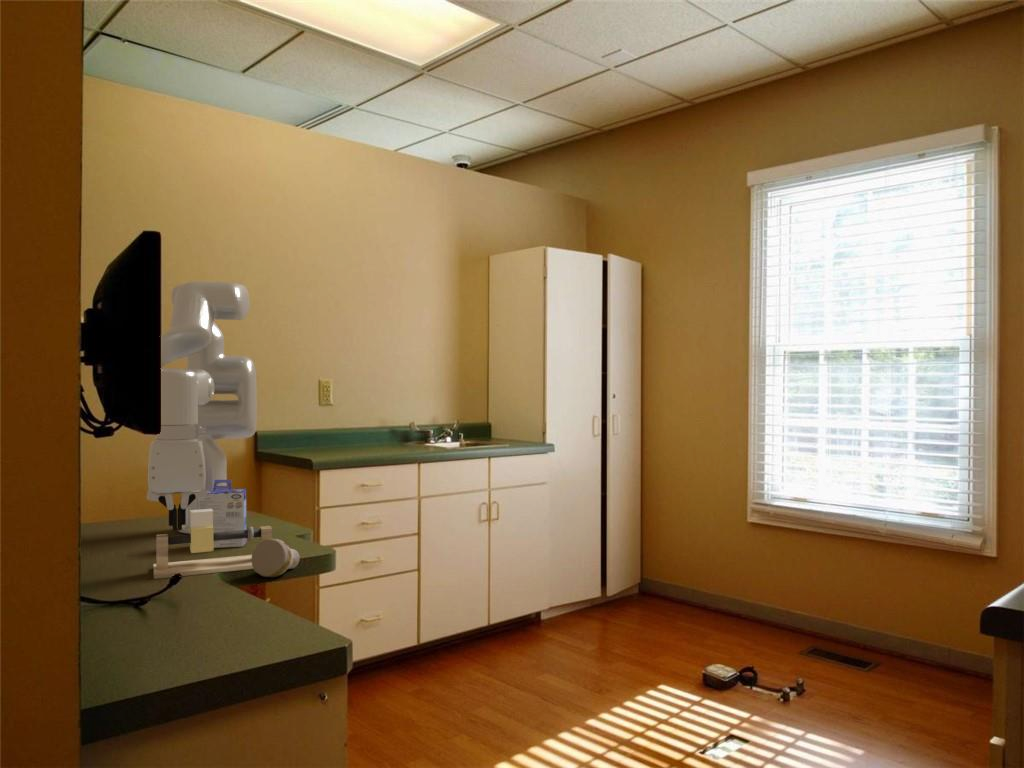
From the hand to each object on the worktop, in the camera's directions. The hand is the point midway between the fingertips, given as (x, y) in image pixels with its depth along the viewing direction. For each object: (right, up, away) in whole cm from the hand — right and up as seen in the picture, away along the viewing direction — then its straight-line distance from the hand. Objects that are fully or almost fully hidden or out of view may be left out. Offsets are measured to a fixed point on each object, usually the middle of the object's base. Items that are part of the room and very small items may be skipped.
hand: (177, 529), depth 147 cm
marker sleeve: (+4, -4, +2) cm, 6 cm away
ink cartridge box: (0, -8, +22) cm, 24 cm away
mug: (+20, -8, -1) cm, 21 cm away
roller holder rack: (+6, -8, +3) cm, 11 cm away
